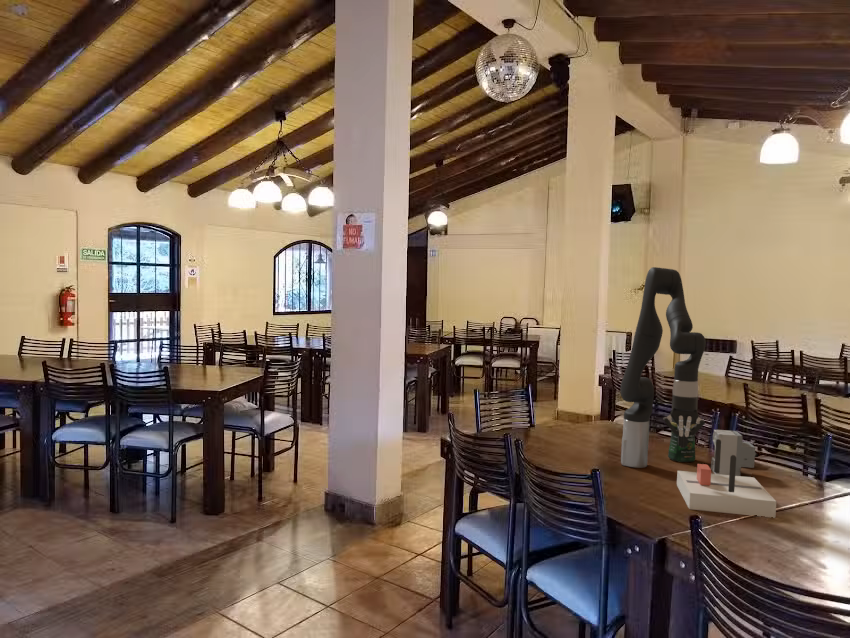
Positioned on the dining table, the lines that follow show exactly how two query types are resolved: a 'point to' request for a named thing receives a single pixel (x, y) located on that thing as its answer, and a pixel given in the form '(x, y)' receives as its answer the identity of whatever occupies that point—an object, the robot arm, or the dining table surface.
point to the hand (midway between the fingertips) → (682, 447)
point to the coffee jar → (682, 453)
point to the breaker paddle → (703, 474)
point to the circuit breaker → (733, 451)
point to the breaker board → (726, 495)
